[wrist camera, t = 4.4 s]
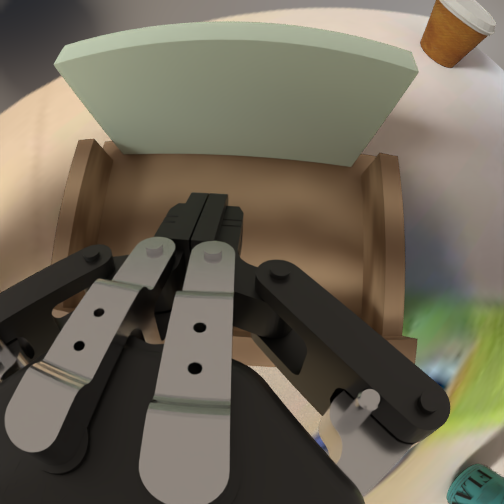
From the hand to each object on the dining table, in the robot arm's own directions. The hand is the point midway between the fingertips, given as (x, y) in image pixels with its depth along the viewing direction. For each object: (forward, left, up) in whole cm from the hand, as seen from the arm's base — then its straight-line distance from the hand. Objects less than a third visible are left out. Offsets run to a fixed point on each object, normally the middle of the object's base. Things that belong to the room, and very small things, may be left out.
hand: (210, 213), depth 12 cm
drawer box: (+1, +1, -12) cm, 12 cm away
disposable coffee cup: (+40, -15, -13) cm, 45 cm away
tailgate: (+8, +3, -9) cm, 13 cm away
